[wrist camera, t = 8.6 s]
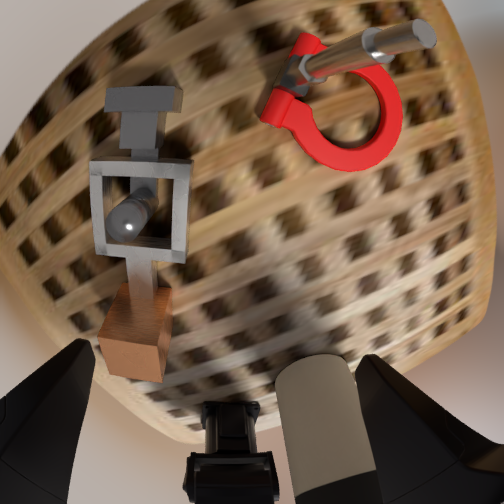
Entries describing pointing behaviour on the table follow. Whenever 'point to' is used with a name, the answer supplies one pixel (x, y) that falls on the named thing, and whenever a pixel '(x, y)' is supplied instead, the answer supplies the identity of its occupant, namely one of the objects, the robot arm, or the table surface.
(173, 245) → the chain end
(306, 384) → the travel mug
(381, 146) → the tow hook
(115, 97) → the hook
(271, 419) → the table surface
